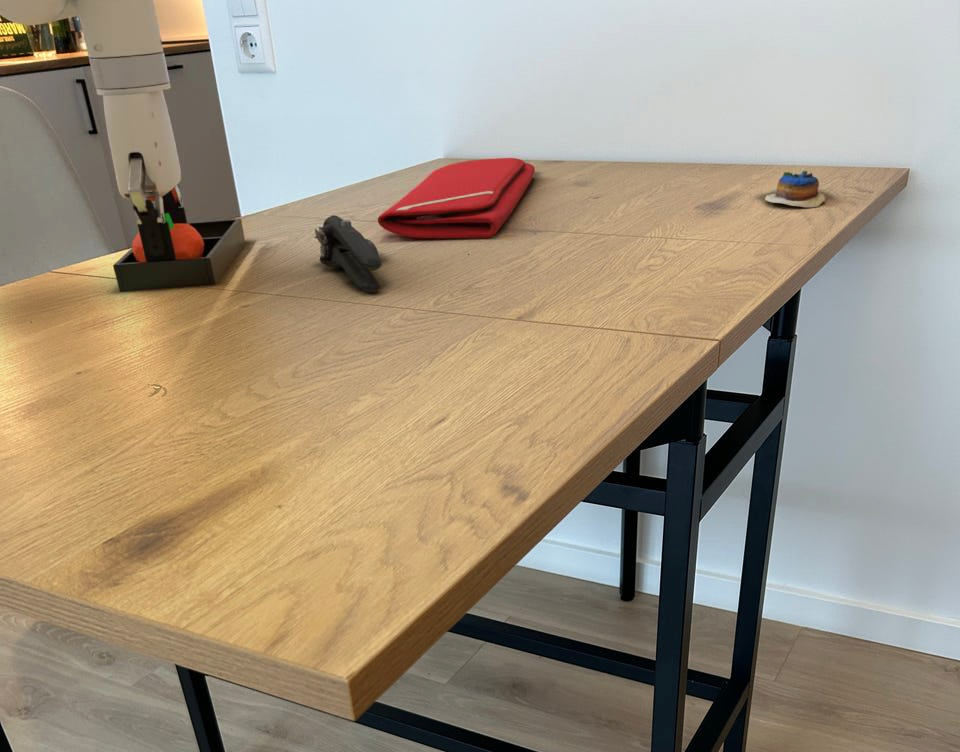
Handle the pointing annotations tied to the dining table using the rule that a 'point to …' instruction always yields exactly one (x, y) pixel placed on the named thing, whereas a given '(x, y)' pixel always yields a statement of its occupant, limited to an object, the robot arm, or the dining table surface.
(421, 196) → the red felt clutch
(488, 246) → the dining table surface
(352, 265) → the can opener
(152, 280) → the tray
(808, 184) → the dessert
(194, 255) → the pumpkin
